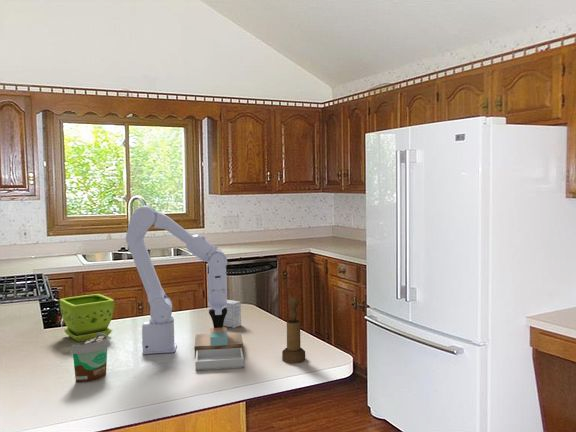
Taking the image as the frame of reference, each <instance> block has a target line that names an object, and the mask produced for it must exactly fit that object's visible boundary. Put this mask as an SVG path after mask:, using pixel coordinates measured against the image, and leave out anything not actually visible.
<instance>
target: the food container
mask: <svg viewBox="0 0 576 432" xmlns="http://www.w3.org/2000/svg"><path fill="white" fill-rule="evenodd" d="M110 345H111V342H110V338H109V335H108V336H107V335H106V334H104V333H97V336H96V337H94V338H92V339H89V340H86V341H82V342H81V343H80V344H71V352H70V354H72V357H73V367H74V378H75V383H78V384H79V383H89V382H95V381H98V380H101V379H103V378H104V377H106V375H107V366H108V365H107V363H108V362H107V361H108V347H109V346H110Z"/></svg>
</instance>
